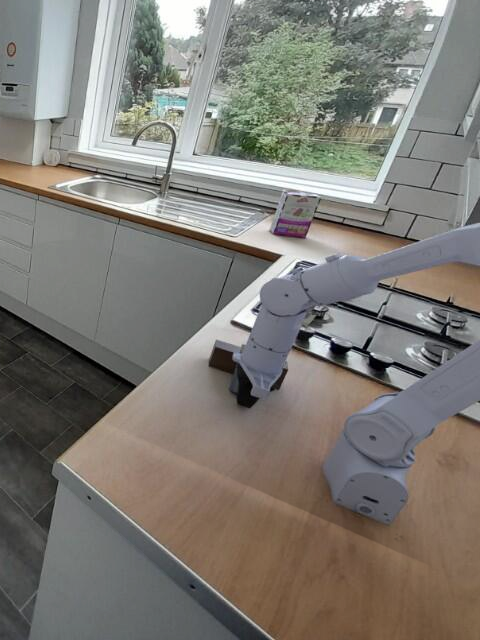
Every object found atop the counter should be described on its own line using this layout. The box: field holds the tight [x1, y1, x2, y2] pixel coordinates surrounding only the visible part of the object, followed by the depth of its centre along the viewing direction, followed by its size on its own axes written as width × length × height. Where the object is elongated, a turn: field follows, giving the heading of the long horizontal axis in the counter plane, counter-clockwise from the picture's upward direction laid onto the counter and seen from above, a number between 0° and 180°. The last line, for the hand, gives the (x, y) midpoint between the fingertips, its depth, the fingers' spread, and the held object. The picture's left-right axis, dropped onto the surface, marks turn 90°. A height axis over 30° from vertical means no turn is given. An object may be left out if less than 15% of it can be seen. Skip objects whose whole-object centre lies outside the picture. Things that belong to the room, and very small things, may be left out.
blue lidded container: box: [228, 343, 246, 394], centre depth 76 cm, size 8×4×10 cm, turn 148°
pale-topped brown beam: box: [207, 339, 289, 391], centre depth 81 cm, size 3×12×6 cm, turn 58°
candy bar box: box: [269, 190, 322, 239], centre depth 157 cm, size 11×5×16 cm, turn 73°
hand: (243, 404), depth 73 cm, fingers closed
